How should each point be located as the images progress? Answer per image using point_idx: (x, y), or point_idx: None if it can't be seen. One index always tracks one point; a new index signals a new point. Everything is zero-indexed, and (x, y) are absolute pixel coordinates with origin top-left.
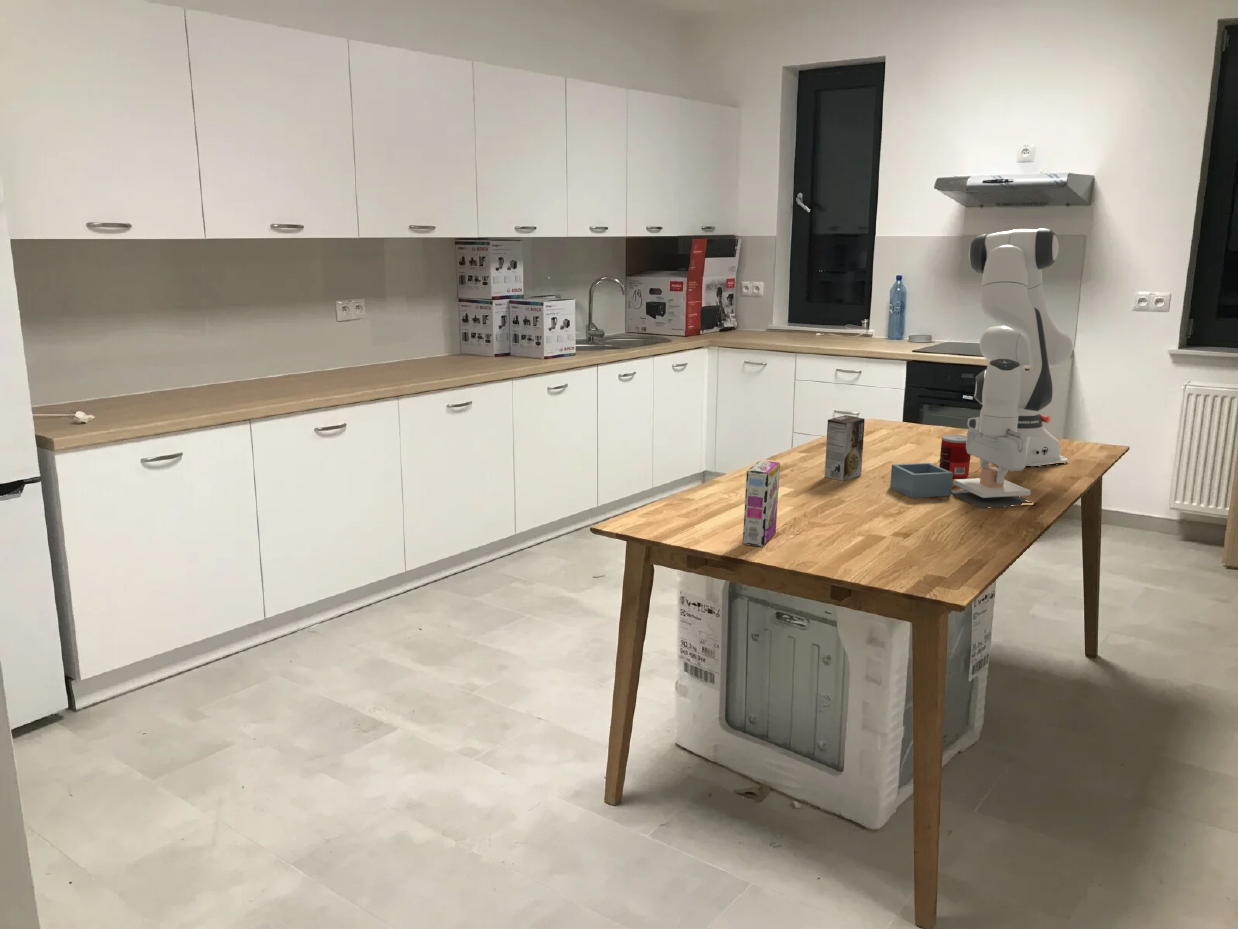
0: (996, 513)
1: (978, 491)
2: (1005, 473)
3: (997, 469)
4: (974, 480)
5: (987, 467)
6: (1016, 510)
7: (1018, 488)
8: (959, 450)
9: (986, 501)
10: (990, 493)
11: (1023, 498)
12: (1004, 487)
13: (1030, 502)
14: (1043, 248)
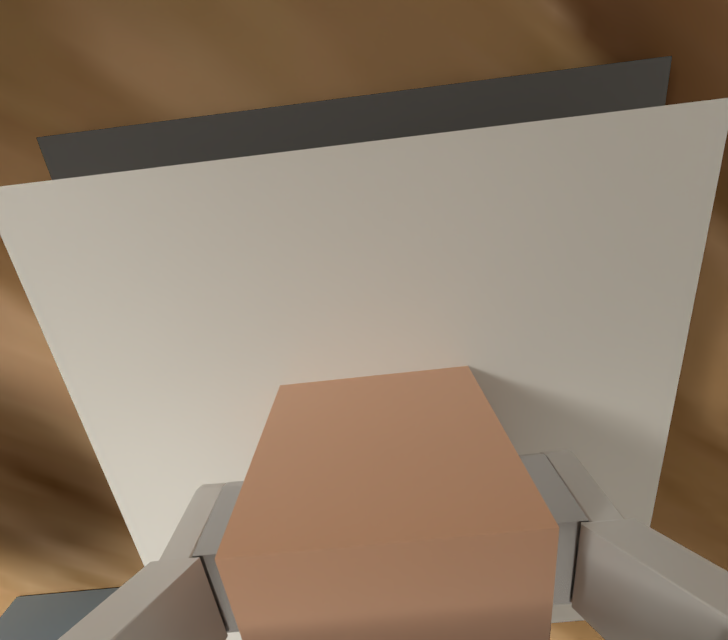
0: (717, 487)
1: (556, 615)
2: (713, 582)
3: (404, 594)
4: None
5: (164, 623)
6: (715, 331)
7: (591, 224)
8: None
9: None
10: None
11: (475, 99)
12: (506, 371)
13: (627, 106)
14: None
